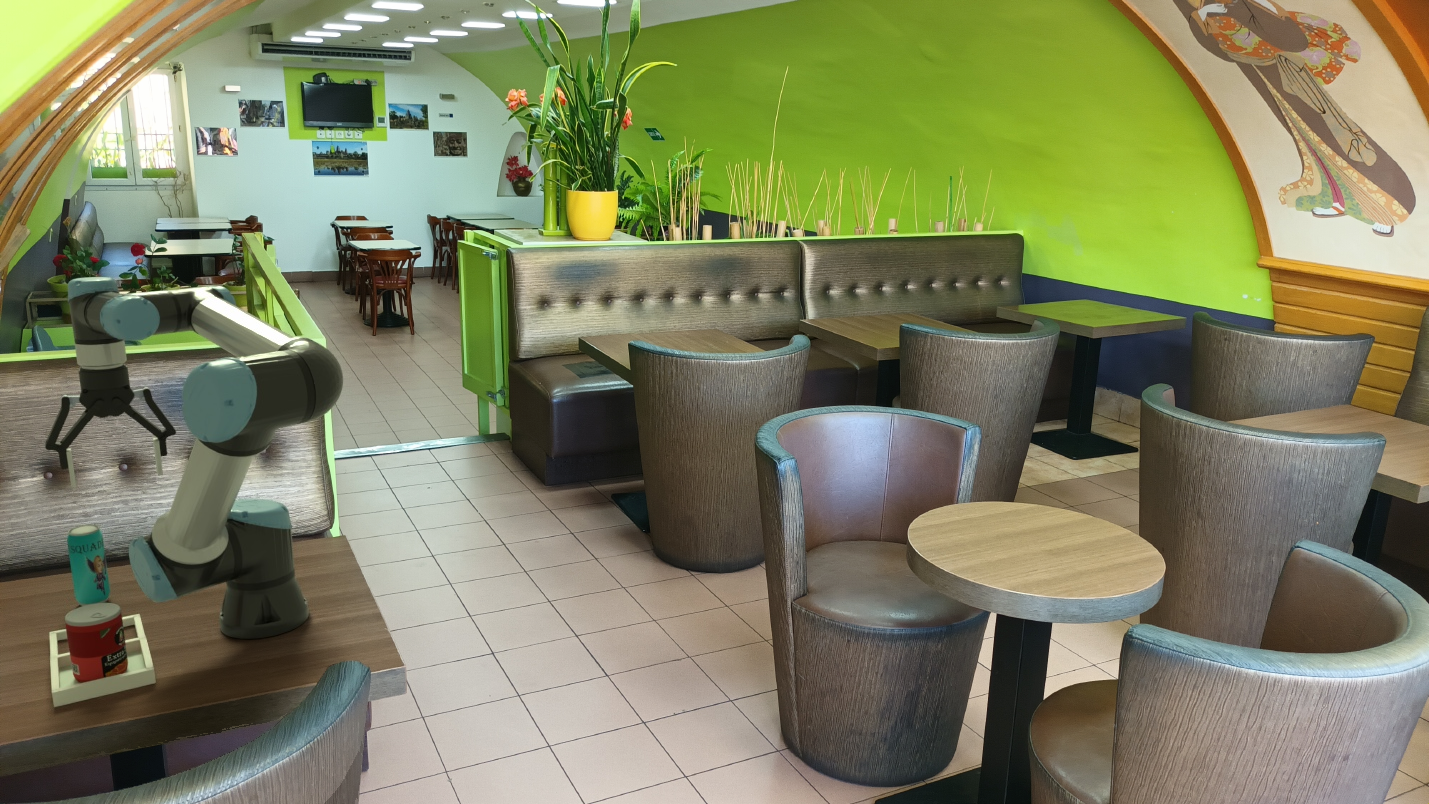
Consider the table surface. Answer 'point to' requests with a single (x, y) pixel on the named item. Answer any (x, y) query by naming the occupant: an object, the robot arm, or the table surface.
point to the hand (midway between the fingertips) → (117, 479)
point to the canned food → (96, 641)
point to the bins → (74, 691)
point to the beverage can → (88, 564)
